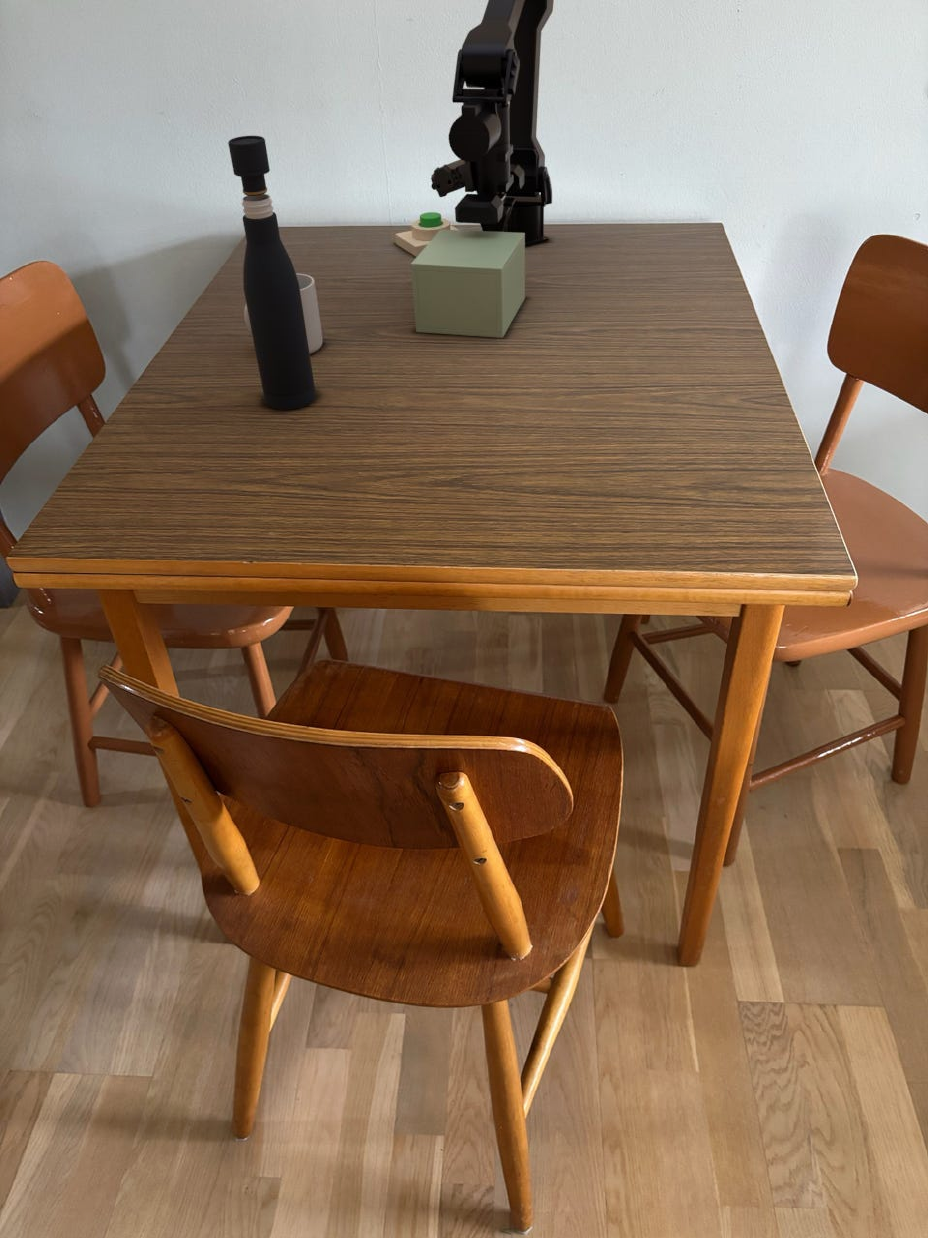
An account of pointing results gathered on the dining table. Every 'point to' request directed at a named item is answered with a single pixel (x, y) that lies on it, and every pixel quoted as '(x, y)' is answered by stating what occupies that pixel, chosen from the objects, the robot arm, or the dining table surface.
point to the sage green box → (469, 282)
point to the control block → (420, 236)
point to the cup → (305, 312)
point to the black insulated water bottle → (271, 287)
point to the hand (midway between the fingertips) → (492, 251)
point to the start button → (430, 220)
